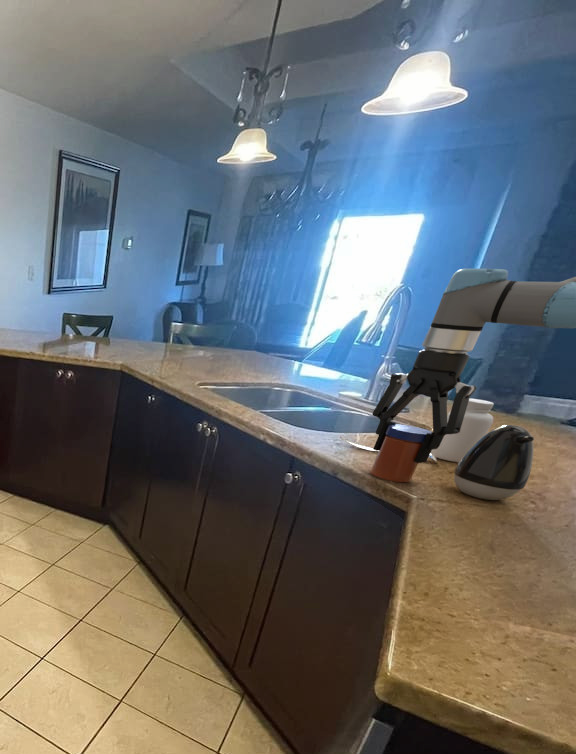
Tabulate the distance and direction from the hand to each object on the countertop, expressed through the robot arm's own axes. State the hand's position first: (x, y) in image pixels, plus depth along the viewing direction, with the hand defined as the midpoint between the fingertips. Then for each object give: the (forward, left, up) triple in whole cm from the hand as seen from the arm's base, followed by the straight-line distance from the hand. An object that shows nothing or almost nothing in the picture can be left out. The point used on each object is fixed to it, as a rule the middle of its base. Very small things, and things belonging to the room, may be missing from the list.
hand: (398, 455), depth 109 cm
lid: (0, 0, +6) cm, 6 cm away
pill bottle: (-6, -31, -5) cm, 32 cm away
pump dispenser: (-14, -3, -5) cm, 15 cm away
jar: (0, 0, -5) cm, 5 cm away
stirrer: (+5, -21, -5) cm, 22 cm away
